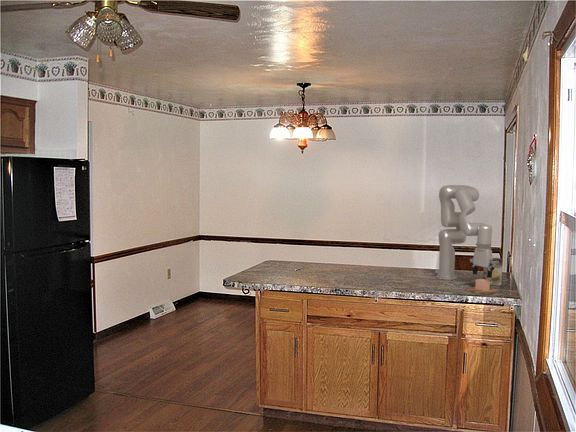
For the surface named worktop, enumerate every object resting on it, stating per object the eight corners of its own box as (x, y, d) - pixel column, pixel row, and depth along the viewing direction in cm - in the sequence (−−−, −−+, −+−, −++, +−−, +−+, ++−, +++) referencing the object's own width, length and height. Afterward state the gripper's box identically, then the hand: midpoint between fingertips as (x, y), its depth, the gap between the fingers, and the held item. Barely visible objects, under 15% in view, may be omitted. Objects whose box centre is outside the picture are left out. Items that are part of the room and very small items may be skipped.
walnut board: (464, 290, 321) (464, 288, 320) (479, 287, 329) (479, 285, 328) (485, 295, 309) (485, 293, 309) (500, 292, 317) (500, 290, 317)
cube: (475, 289, 319) (475, 279, 319) (481, 287, 323) (481, 278, 322) (483, 290, 315) (483, 281, 314) (489, 289, 318) (489, 280, 318)
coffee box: (486, 285, 335) (487, 259, 334) (482, 283, 342) (483, 257, 340) (501, 285, 336) (502, 259, 334) (497, 283, 342) (498, 257, 341)
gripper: (467, 244, 322) (465, 273, 324) (493, 249, 308) (491, 279, 310) (475, 243, 326) (473, 272, 328) (501, 248, 312) (499, 278, 314)
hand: (482, 275), depth 319 cm, fingers open, 9 cm apart
